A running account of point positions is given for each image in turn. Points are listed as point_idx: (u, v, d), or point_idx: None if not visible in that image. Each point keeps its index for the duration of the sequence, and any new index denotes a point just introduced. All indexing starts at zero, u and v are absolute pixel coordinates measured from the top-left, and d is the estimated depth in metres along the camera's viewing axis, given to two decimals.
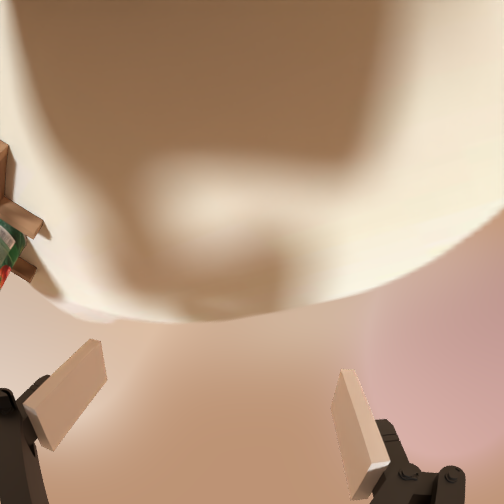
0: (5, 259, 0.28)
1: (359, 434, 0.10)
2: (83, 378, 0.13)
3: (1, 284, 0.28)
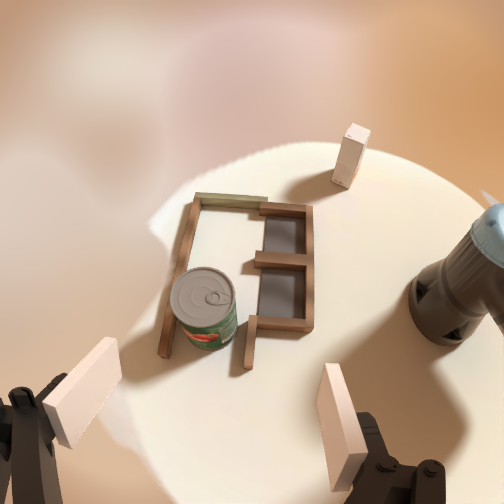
0: (219, 338, 0.40)
1: (339, 425, 0.11)
2: (100, 376, 0.14)
3: (202, 336, 0.37)
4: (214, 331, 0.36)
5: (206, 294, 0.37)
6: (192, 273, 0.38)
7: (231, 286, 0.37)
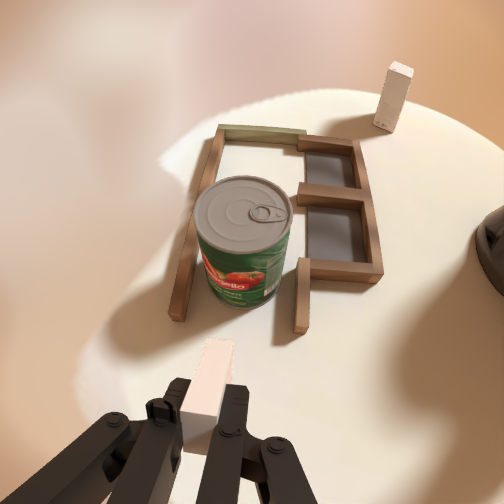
0: (263, 284, 0.28)
1: None
2: None
3: (240, 276, 0.25)
4: (260, 265, 0.25)
5: (250, 209, 0.25)
6: (227, 184, 0.26)
7: (286, 198, 0.25)
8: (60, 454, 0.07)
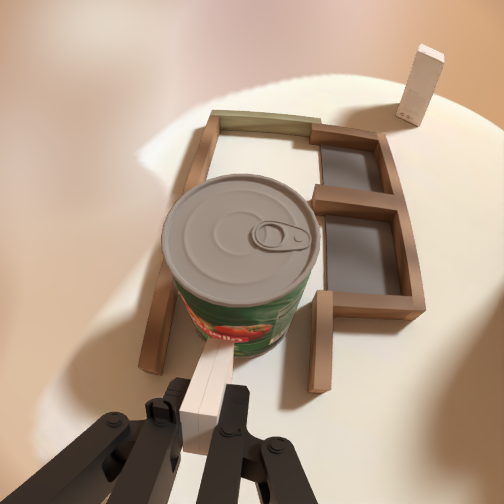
0: (269, 334, 0.19)
1: None
2: None
3: (235, 329, 0.16)
4: (267, 317, 0.15)
5: (252, 229, 0.16)
6: (216, 186, 0.17)
7: (308, 211, 0.16)
8: (60, 454, 0.07)
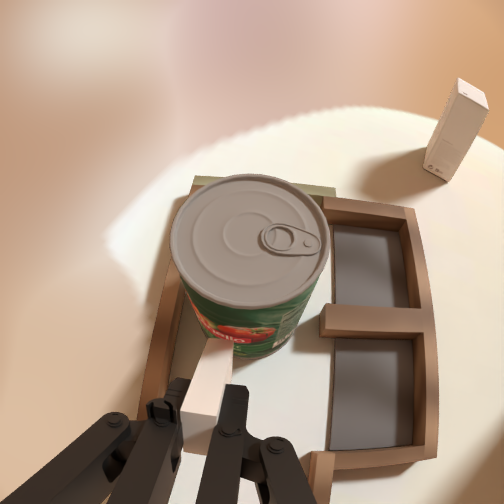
0: (272, 337, 0.18)
1: None
2: None
3: (238, 330, 0.16)
4: (270, 320, 0.15)
5: (262, 231, 0.15)
6: (229, 185, 0.17)
7: (320, 217, 0.16)
8: (60, 454, 0.07)
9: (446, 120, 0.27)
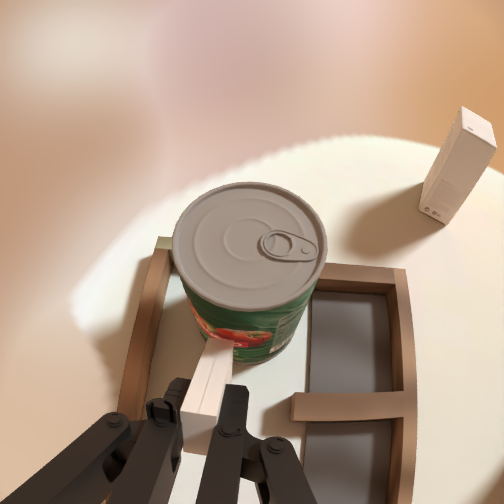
0: (269, 342, 0.19)
1: None
2: None
3: (235, 333, 0.17)
4: (267, 324, 0.16)
5: (261, 237, 0.16)
6: (231, 192, 0.18)
7: (318, 225, 0.16)
8: (60, 454, 0.07)
9: (447, 159, 0.25)
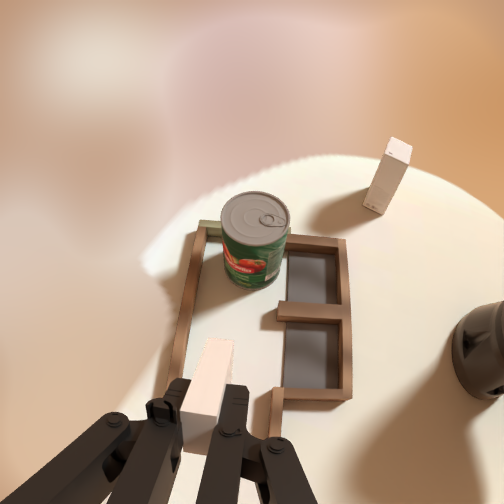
0: (265, 270, 0.38)
1: None
2: None
3: (248, 262, 0.36)
4: (263, 255, 0.35)
5: (260, 216, 0.35)
6: (246, 196, 0.37)
7: (286, 211, 0.36)
8: (60, 454, 0.07)
9: (376, 172, 0.45)
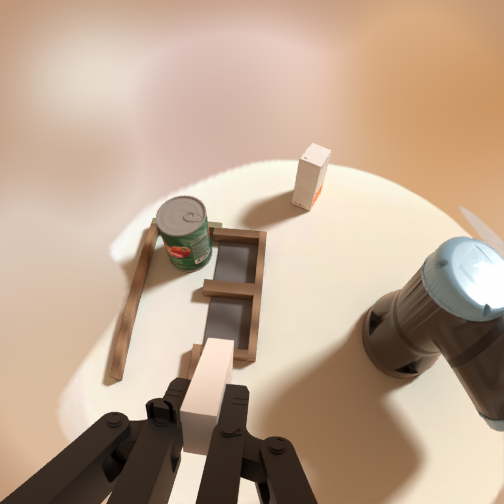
0: (192, 255, 0.50)
1: None
2: None
3: (177, 248, 0.48)
4: (186, 243, 0.47)
5: (184, 214, 0.47)
6: (177, 199, 0.48)
7: (204, 210, 0.47)
8: (60, 454, 0.07)
9: None
